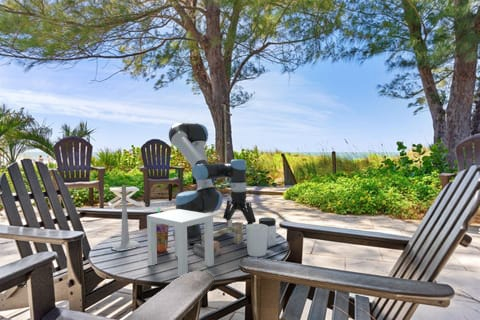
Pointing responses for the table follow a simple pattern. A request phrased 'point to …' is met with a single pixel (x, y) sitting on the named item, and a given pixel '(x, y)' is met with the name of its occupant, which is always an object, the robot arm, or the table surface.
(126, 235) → the candlestick
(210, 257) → the stool
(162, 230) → the smoothie
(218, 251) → the block
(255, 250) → the candle holder
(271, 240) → the jar
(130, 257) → the table surface
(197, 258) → the table surface
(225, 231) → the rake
